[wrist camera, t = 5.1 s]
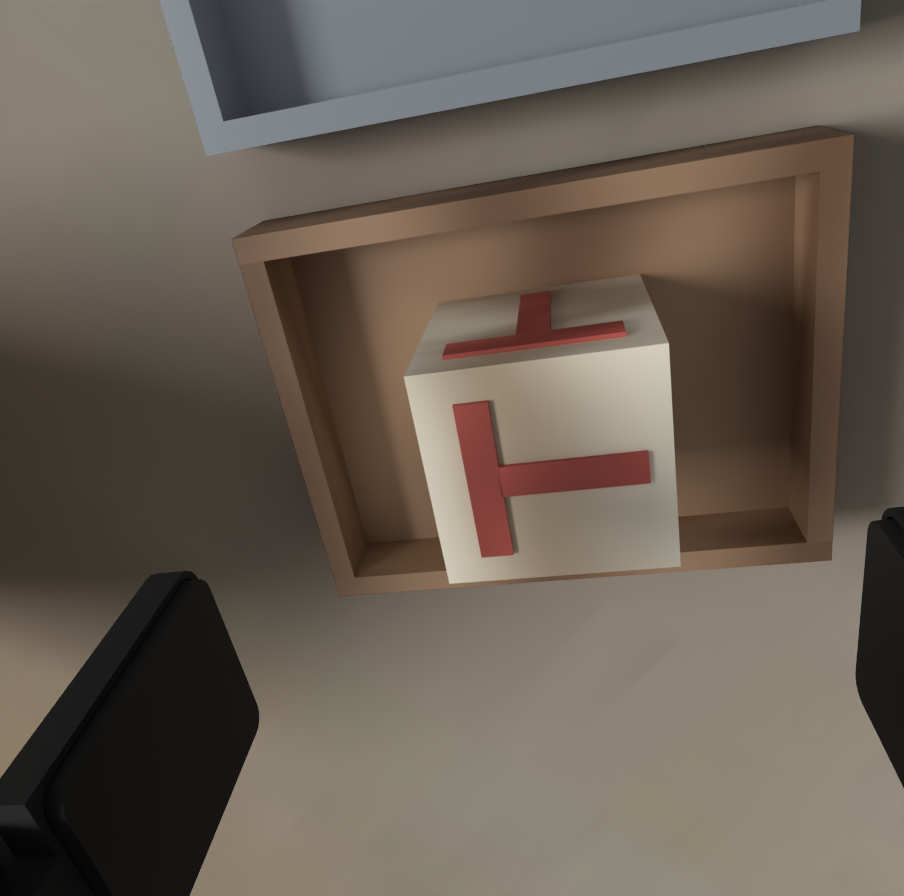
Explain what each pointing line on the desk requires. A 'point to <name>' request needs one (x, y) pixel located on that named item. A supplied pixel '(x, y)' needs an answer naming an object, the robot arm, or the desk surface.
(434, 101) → the grey tray
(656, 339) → the letter cube
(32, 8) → the desk surface
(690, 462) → the walnut tray
